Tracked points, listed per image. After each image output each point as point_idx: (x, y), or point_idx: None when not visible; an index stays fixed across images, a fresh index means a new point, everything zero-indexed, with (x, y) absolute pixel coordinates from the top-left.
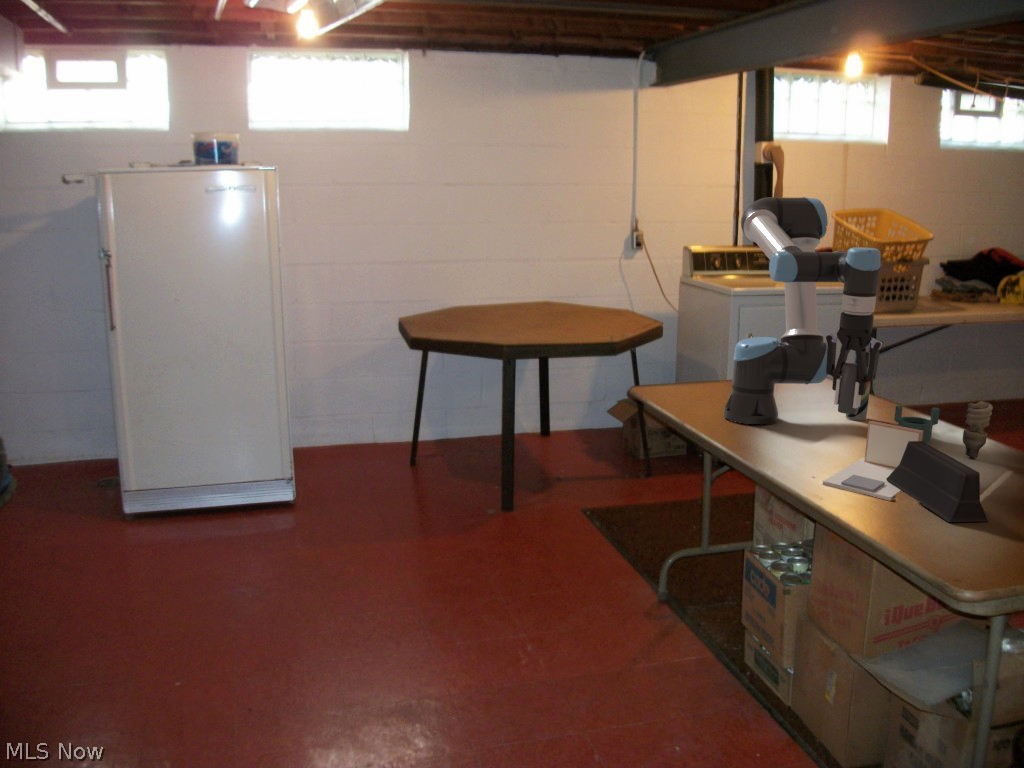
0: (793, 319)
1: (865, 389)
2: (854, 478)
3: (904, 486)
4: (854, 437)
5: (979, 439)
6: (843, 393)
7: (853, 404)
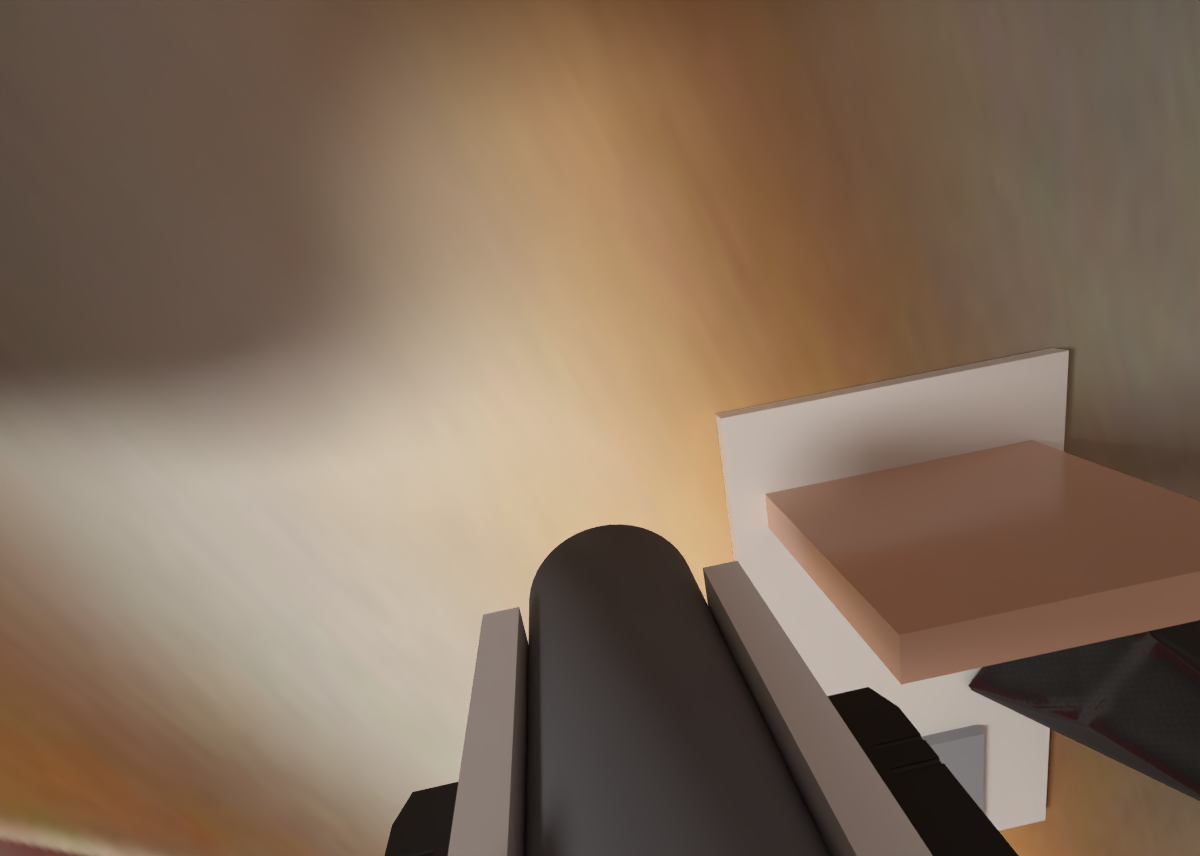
0: None
1: (933, 762)
2: None
3: (1077, 738)
4: (391, 3)
5: None
6: None
7: None
